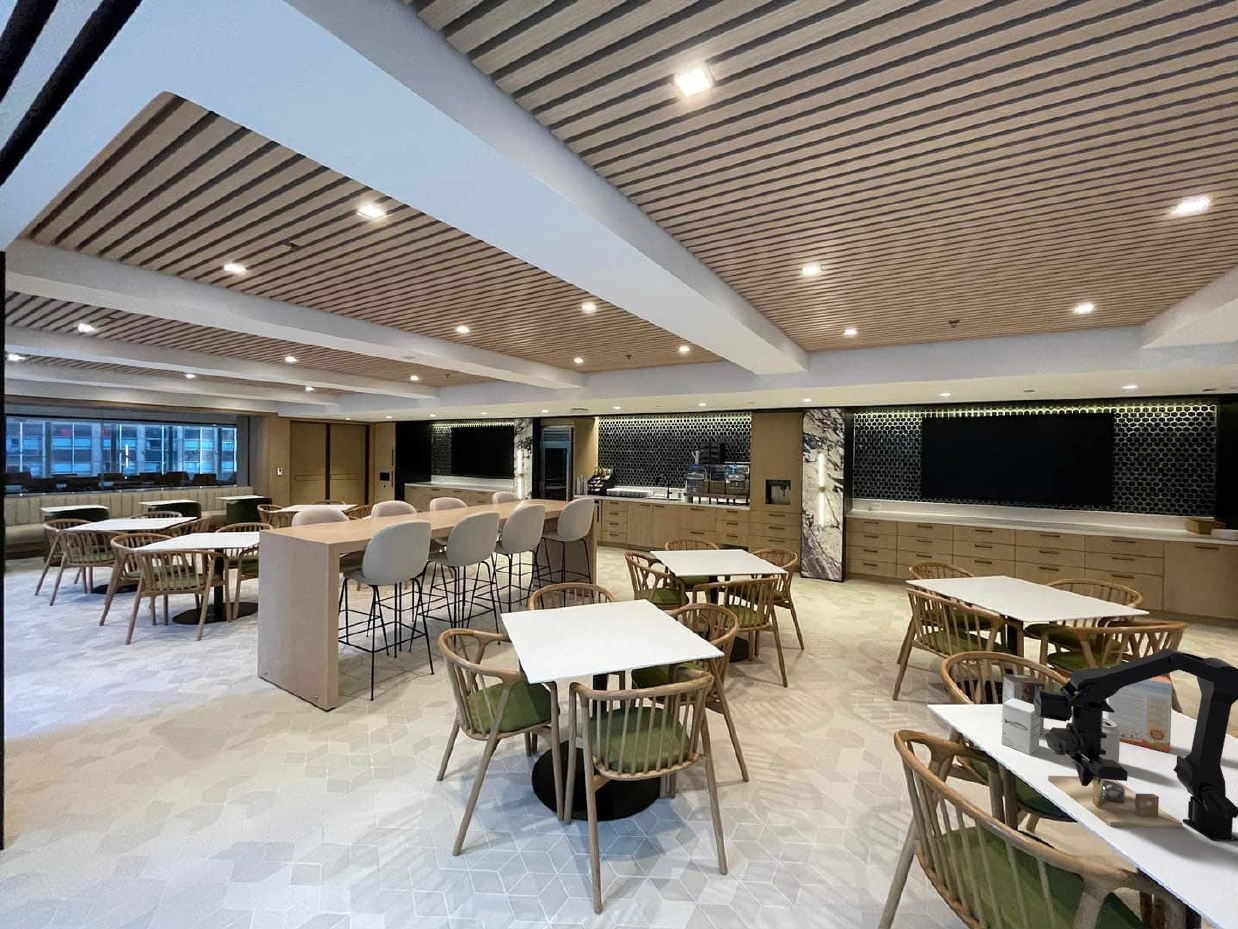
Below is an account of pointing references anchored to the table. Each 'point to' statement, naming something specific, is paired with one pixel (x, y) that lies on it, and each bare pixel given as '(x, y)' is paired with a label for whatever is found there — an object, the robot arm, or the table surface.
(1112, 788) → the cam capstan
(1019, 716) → the supplement box
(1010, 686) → the coffee box
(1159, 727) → the cracker box
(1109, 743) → the can
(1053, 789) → the table surface
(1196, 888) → the table surface
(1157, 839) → the table surface
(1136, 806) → the stand
